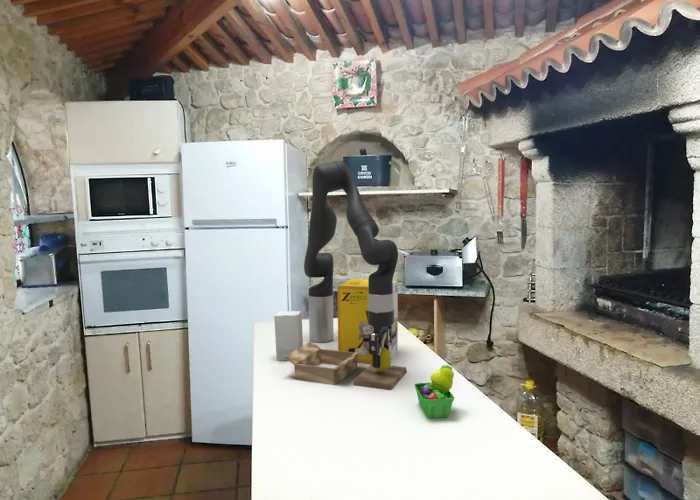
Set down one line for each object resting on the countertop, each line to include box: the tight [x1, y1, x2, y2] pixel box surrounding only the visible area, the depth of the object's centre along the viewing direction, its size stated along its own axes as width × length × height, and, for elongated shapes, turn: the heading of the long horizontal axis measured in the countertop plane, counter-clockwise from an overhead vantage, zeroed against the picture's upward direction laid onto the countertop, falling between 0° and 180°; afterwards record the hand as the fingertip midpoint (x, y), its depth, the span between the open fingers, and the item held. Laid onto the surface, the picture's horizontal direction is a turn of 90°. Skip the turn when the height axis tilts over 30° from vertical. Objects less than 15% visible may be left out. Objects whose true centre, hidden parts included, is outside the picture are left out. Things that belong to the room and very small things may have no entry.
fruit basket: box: [414, 364, 455, 419], centre depth 122 cm, size 11×9×11 cm
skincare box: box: [273, 310, 304, 362], centre depth 166 cm, size 8×7×16 cm
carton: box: [285, 341, 367, 386], centre depth 151 cm, size 17×20×7 cm
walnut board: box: [353, 363, 407, 391], centre depth 146 cm, size 16×11×2 cm
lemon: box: [375, 346, 392, 373], centre depth 146 cm, size 6×6×8 cm
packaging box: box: [336, 278, 399, 365], centre depth 168 cm, size 16×16×25 cm
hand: (380, 363), depth 146 cm, fingers open, 7 cm apart
